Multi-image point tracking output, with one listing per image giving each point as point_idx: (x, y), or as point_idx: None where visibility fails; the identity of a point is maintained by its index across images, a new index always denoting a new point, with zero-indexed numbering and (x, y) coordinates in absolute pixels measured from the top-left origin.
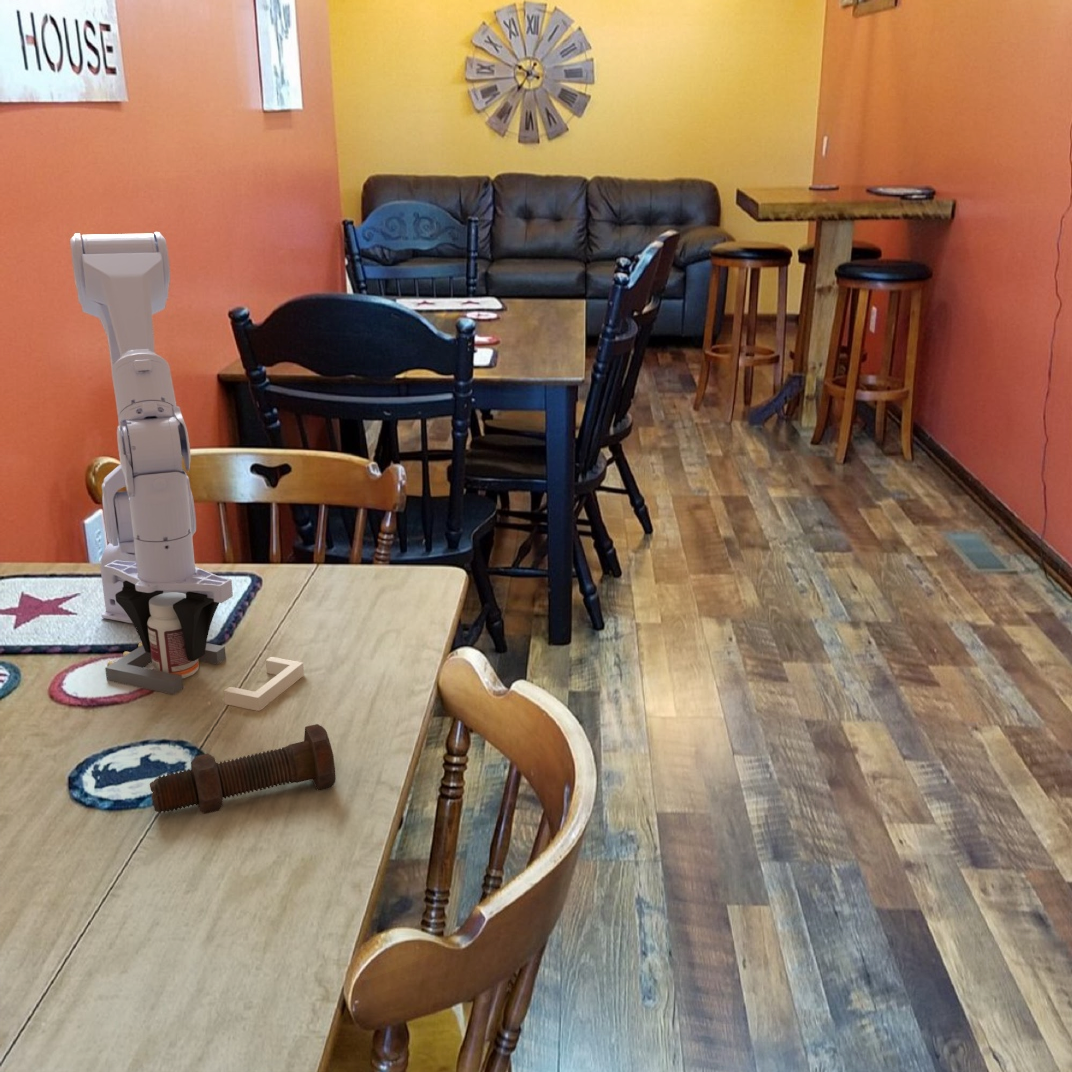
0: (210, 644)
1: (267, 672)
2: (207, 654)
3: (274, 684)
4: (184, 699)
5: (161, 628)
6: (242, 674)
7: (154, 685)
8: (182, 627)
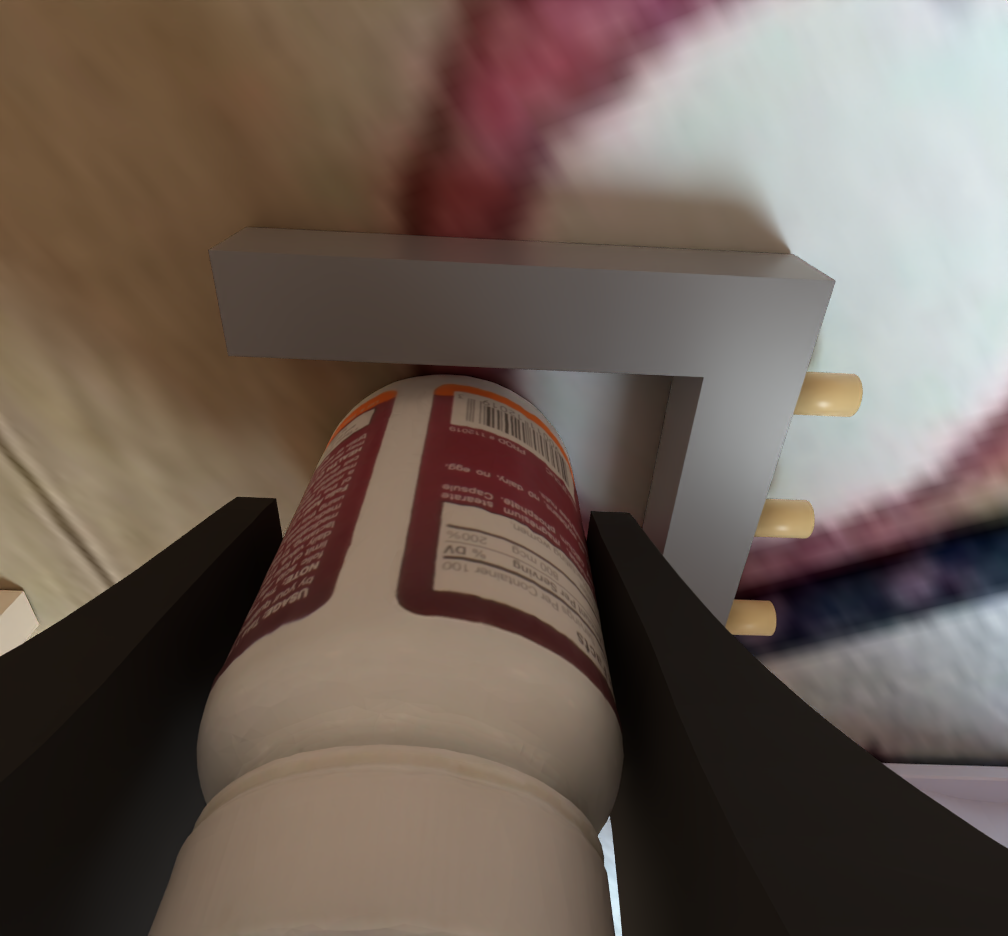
0: None
1: (13, 592)
2: None
3: None
4: (140, 194)
5: (342, 630)
6: (114, 550)
7: (395, 243)
8: (89, 684)
